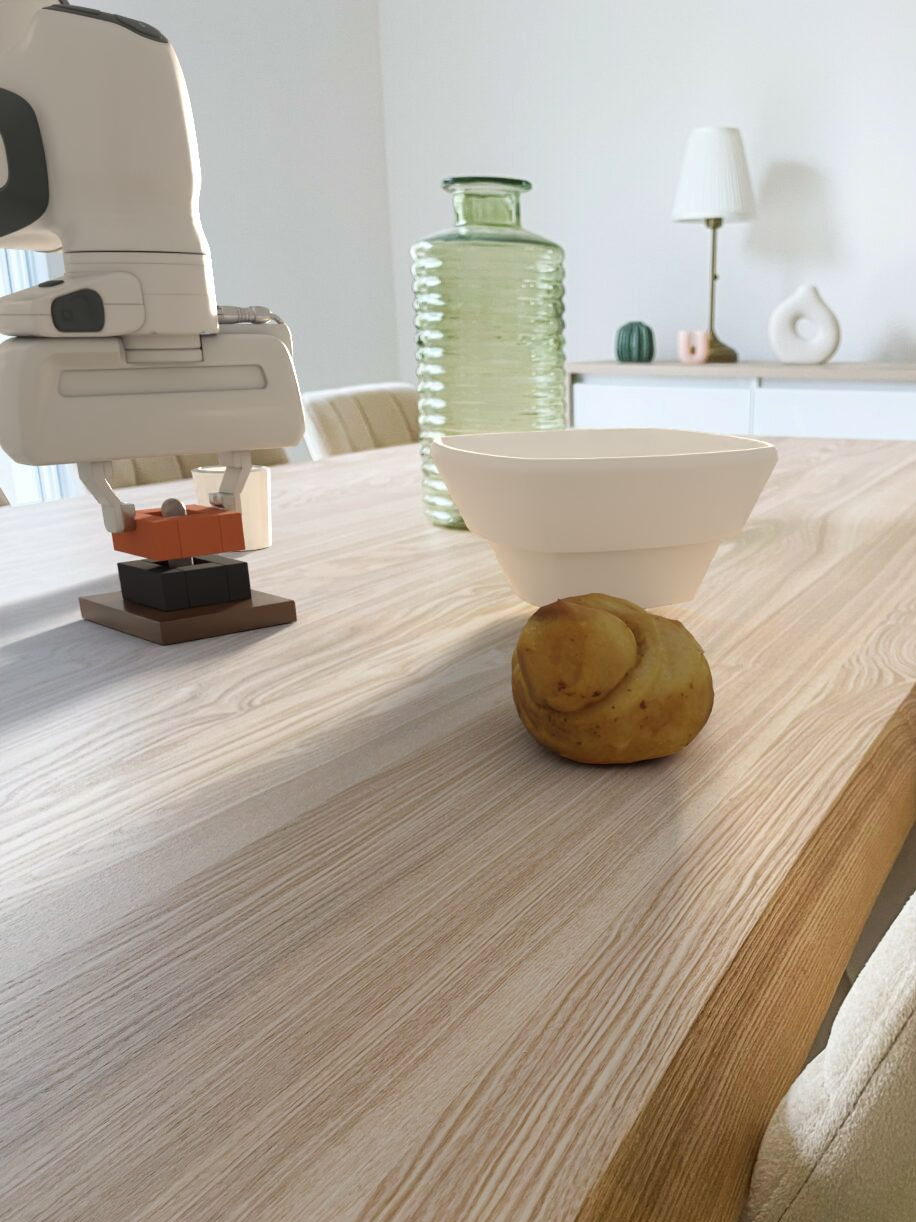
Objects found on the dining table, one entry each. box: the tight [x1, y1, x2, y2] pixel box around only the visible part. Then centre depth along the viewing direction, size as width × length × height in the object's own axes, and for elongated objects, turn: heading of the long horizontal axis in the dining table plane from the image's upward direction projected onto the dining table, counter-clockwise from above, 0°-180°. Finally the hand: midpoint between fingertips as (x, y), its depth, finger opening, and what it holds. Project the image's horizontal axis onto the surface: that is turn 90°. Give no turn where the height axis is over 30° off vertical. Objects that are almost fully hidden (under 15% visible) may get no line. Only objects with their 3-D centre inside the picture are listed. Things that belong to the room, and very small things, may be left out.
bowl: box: [429, 427, 779, 610], centre depth 93 cm, size 22×22×12 cm
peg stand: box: [78, 497, 298, 646], centre depth 90 cm, size 12×10×8 cm
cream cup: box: [190, 464, 272, 552], centre depth 119 cm, size 7×7×7 cm
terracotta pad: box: [110, 503, 245, 561], centre depth 89 cm, size 6×6×2 cm
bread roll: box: [510, 593, 715, 765], centre depth 64 cm, size 13×10×8 cm
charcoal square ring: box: [116, 554, 252, 612], centre depth 90 cm, size 6×6×2 cm
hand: (175, 525), depth 89 cm, fingers closed on terracotta pad, 6 cm apart
